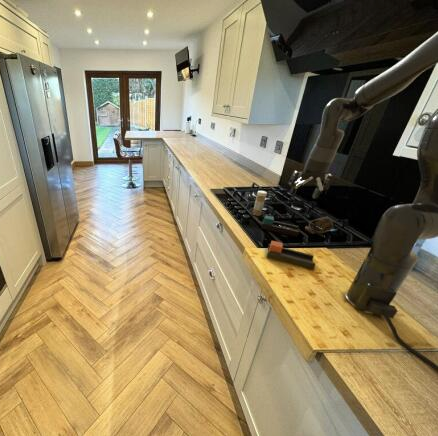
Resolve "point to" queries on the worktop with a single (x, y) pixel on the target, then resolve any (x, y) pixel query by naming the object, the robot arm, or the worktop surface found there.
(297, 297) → the worktop surface
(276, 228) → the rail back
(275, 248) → the red cube
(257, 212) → the sprinkles bottle
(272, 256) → the rail front
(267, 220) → the teal cube
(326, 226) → the brown lumpy chunk
